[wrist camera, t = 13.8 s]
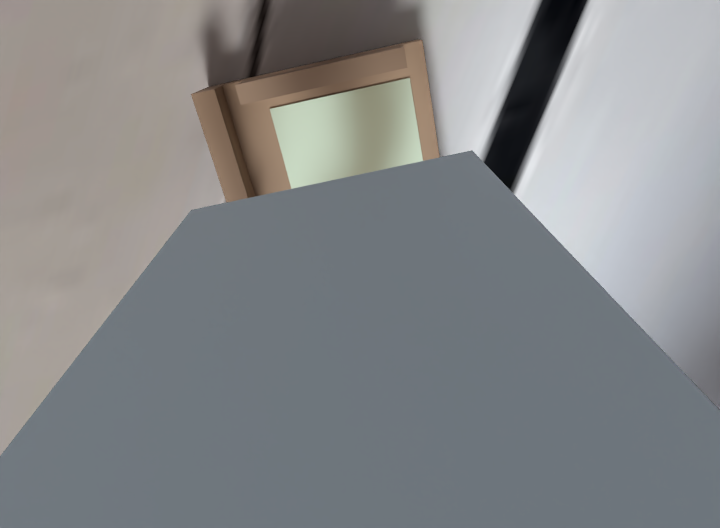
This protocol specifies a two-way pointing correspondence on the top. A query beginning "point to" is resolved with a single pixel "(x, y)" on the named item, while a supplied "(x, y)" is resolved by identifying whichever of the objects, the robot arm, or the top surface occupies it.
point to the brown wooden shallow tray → (320, 121)
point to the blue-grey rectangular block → (368, 378)
